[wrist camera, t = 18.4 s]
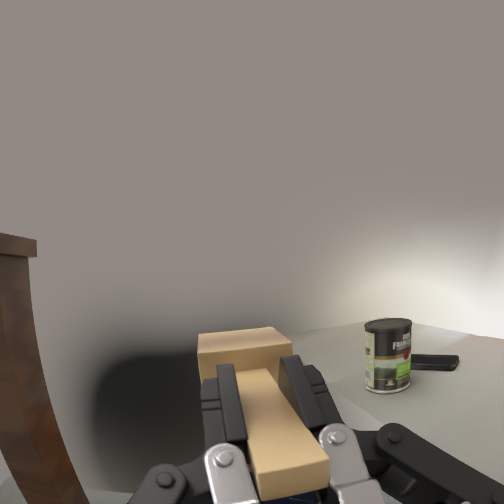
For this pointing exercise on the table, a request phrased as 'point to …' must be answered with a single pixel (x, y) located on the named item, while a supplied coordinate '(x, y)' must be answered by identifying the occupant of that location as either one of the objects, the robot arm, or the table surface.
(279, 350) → the t-shaped wooden block
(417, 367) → the phone
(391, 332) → the coffee can
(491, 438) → the table surface
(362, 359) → the table surface
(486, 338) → the table surface
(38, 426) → the stand
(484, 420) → the table surface
